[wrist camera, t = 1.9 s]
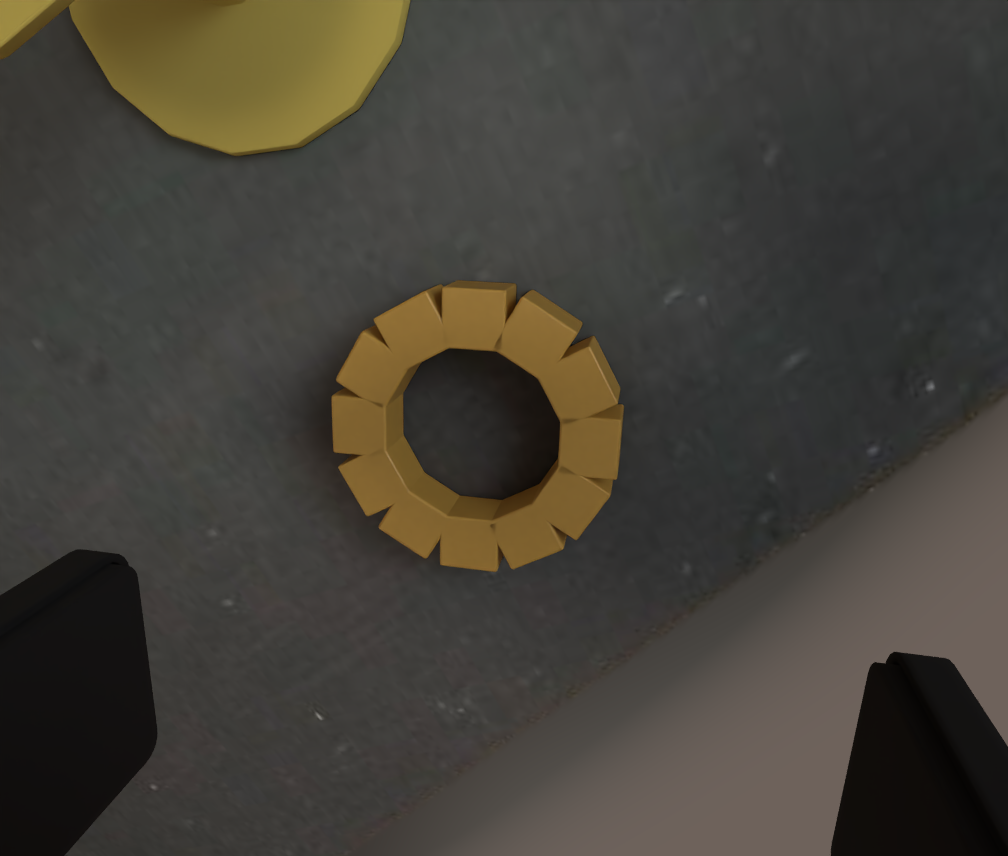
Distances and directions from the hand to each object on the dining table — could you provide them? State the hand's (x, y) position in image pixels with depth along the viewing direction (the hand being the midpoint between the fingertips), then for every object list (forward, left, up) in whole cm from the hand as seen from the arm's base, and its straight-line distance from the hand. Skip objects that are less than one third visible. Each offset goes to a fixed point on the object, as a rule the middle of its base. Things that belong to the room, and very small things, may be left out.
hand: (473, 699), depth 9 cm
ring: (+2, +2, -13) cm, 13 cm away
